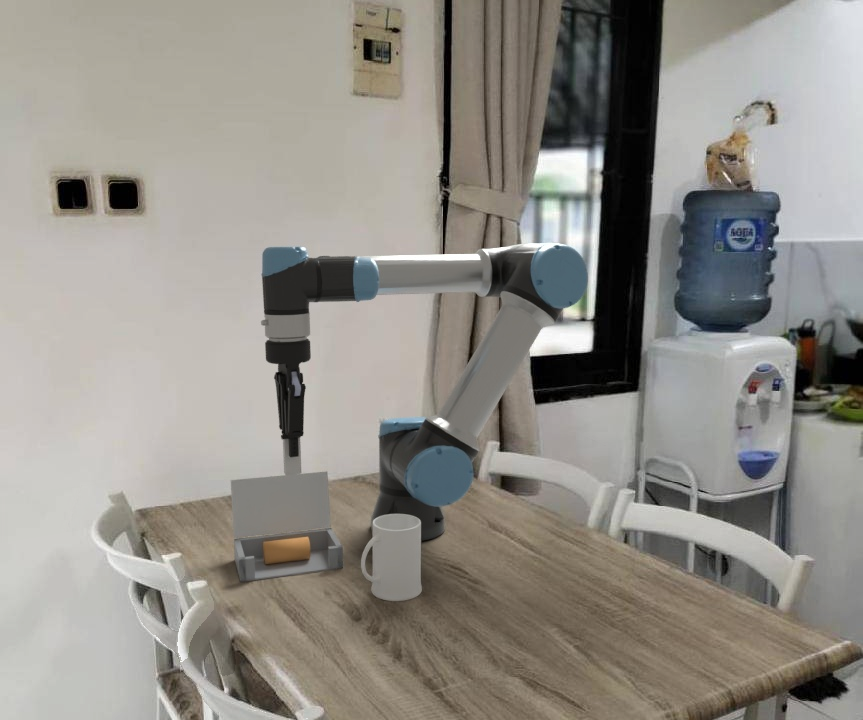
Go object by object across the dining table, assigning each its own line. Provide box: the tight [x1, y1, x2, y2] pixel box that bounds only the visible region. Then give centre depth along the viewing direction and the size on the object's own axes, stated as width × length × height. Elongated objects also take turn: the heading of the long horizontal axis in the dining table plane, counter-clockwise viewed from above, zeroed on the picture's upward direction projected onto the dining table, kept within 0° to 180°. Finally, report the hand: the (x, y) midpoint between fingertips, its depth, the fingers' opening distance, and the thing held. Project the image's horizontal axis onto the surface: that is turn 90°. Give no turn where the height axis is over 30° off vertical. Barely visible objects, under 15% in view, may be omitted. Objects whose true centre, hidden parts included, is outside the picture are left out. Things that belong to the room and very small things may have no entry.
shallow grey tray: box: [233, 527, 344, 583], centre depth 139 cm, size 18×10×4 cm, turn 109°
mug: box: [360, 514, 423, 602], centre depth 127 cm, size 12×8×12 cm
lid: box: [230, 470, 332, 539], centre depth 144 cm, size 18×10×1 cm
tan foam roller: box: [263, 537, 311, 564], centre depth 139 cm, size 8×4×4 cm, turn 109°
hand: (292, 473), depth 133 cm, fingers closed
